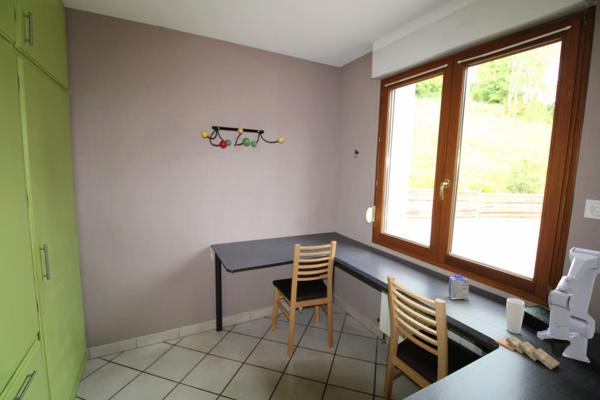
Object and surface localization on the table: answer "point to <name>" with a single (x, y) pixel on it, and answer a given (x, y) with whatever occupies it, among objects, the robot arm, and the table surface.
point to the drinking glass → (514, 314)
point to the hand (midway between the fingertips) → (556, 356)
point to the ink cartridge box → (458, 287)
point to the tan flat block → (528, 349)
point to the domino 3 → (545, 358)
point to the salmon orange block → (505, 343)
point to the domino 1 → (515, 343)
